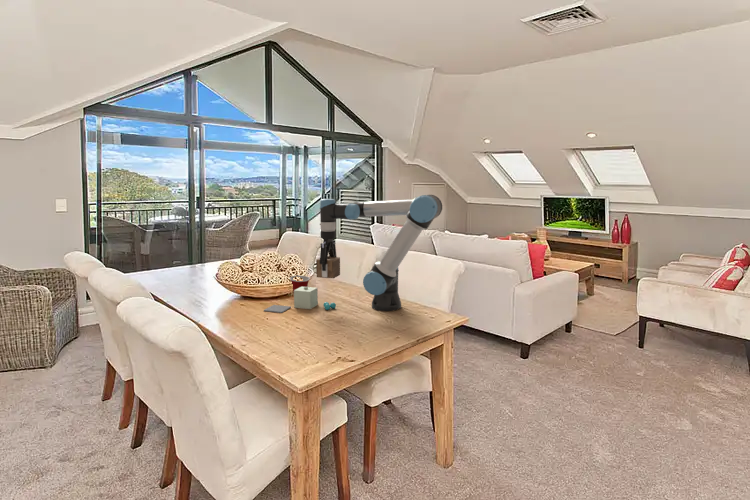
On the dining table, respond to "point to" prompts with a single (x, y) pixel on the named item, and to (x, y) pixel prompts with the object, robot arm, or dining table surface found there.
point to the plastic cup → (299, 282)
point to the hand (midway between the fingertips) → (328, 275)
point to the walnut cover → (329, 267)
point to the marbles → (327, 306)
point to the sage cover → (305, 297)
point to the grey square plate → (277, 308)
